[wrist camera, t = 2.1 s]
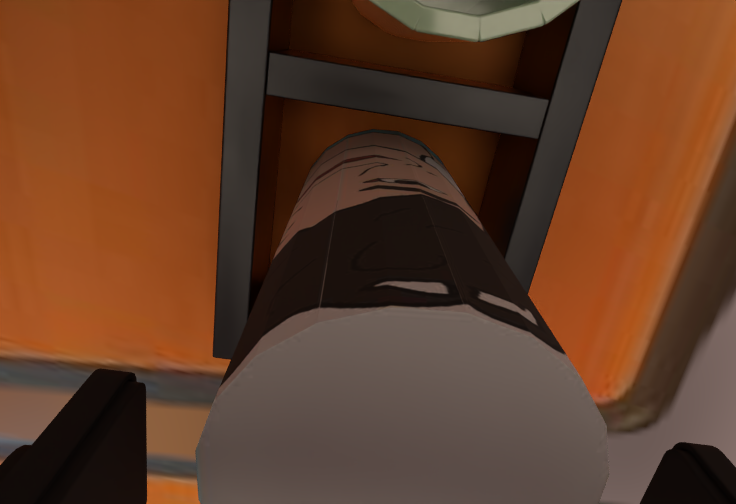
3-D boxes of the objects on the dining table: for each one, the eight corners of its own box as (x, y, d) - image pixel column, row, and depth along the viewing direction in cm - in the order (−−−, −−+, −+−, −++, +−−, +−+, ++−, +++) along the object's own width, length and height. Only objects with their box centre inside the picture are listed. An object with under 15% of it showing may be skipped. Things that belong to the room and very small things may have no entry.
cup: (453, 123, 21) (638, 290, 7) (454, 270, 23) (588, 607, 9) (291, 135, 21) (148, 323, 7) (310, 280, 23) (234, 626, 10)
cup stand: (238, 302, 24) (212, 358, 20) (279, -314, 15) (247, -445, 11) (474, 334, 25) (496, 394, 20) (636, -235, 16) (730, -331, 12)
